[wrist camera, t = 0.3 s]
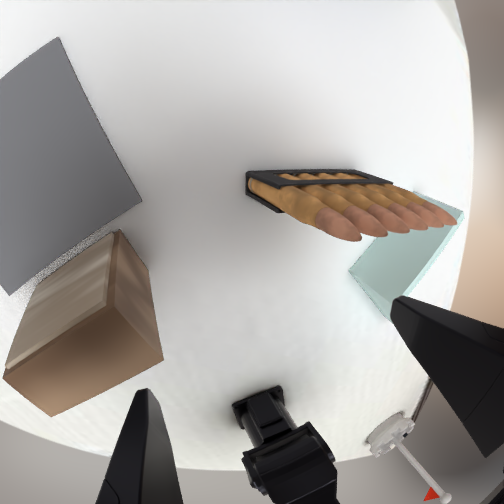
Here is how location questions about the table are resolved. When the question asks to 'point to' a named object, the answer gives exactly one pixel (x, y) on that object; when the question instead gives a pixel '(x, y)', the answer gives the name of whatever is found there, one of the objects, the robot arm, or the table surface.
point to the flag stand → (402, 450)
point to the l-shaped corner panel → (402, 260)
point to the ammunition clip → (344, 202)
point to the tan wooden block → (85, 328)
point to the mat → (52, 167)
